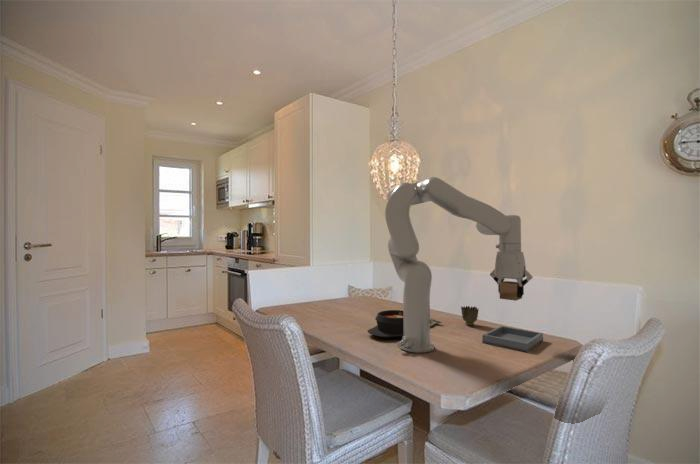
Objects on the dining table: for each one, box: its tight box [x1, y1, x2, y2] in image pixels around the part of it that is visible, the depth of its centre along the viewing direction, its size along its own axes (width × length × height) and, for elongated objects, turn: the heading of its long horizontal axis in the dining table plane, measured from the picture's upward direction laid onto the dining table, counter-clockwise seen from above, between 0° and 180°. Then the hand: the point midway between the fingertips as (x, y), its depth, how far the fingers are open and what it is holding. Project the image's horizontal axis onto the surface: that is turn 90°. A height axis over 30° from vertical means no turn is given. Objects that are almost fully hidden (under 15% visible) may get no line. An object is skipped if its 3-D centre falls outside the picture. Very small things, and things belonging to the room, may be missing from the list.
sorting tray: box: [481, 325, 544, 353], centre depth 139 cm, size 18×16×3 cm
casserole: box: [367, 309, 403, 339], centre depth 150 cm, size 25×19×8 cm
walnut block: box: [499, 280, 523, 301], centre depth 137 cm, size 6×6×6 cm
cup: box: [460, 305, 479, 327], centre depth 163 cm, size 8×7×8 cm
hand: (510, 295), depth 137 cm, fingers closed on walnut block, 6 cm apart
